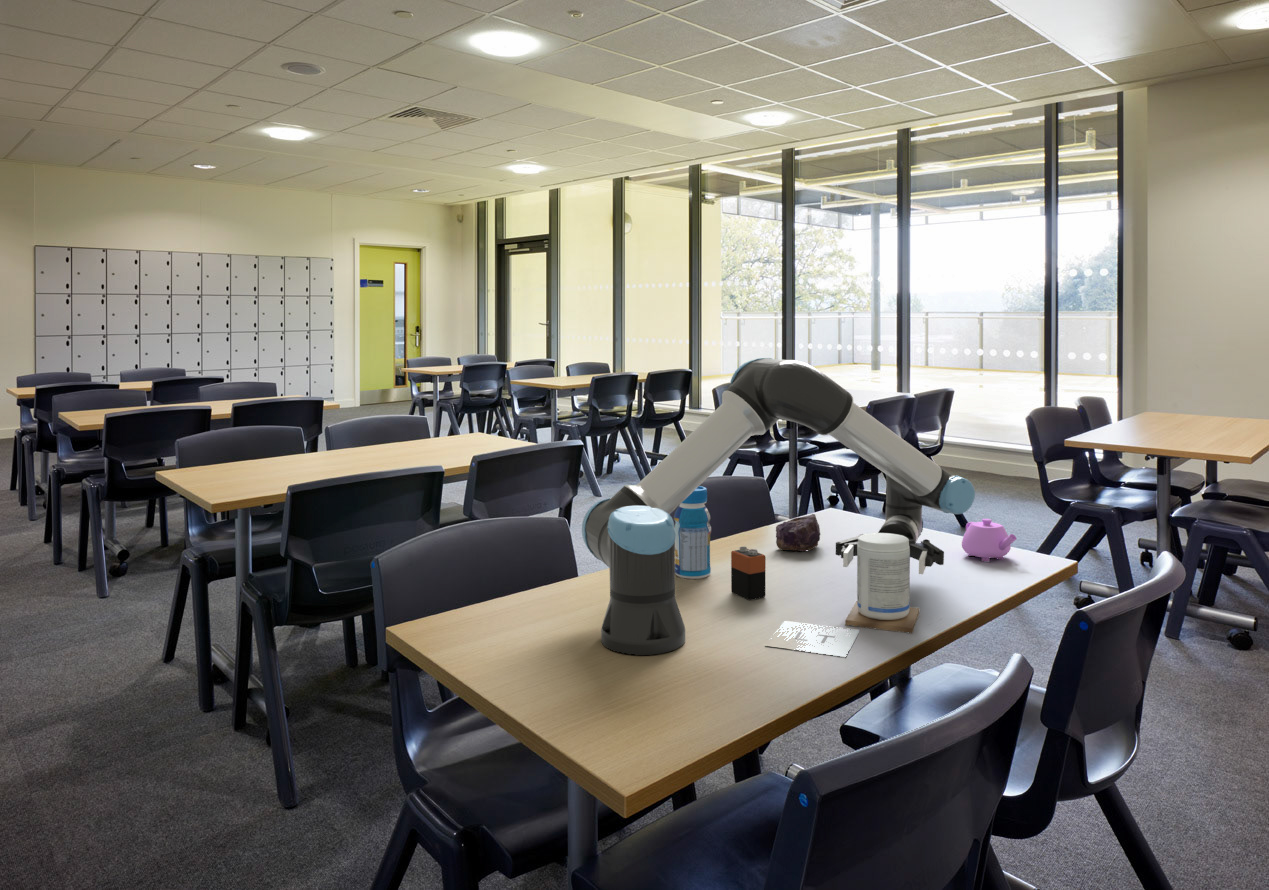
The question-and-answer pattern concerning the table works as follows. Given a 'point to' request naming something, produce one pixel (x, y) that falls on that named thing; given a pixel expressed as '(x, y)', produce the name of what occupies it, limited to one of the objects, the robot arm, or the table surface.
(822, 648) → the label card
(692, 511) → the beverage bottle
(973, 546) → the teapot
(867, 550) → the supplement tub
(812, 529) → the rock
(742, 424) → the robot arm
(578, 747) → the table surface
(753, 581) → the battery
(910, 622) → the walnut square
